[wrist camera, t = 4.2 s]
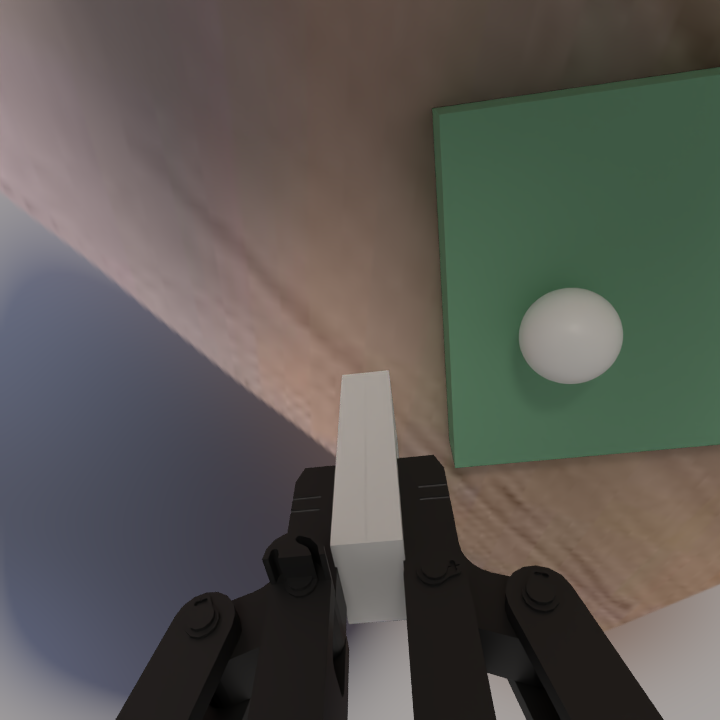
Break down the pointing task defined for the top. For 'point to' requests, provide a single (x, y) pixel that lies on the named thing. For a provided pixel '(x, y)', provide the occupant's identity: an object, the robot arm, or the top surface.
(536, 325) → the ball
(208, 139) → the top surface
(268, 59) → the top surface
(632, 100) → the green
